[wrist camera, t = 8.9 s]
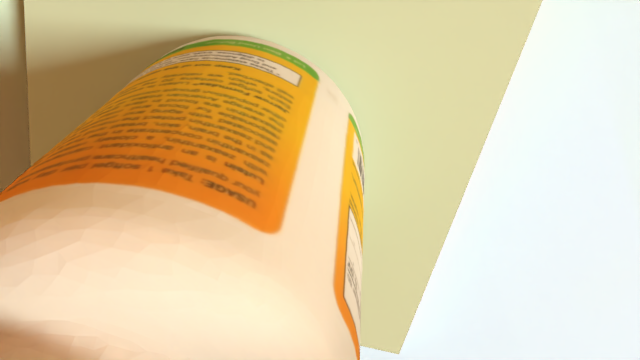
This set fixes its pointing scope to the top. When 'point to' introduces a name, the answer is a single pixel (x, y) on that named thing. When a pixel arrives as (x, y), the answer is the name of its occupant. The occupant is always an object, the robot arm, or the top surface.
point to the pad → (350, 77)
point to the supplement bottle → (193, 218)
